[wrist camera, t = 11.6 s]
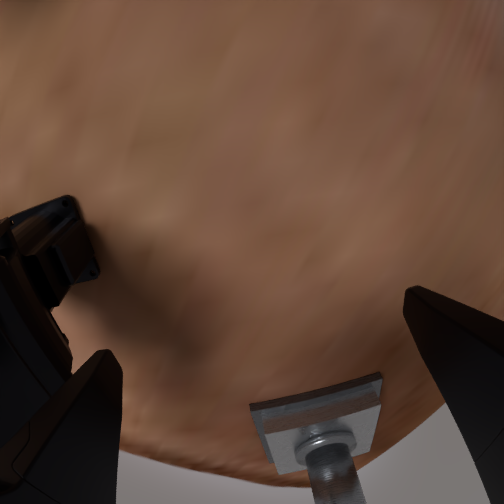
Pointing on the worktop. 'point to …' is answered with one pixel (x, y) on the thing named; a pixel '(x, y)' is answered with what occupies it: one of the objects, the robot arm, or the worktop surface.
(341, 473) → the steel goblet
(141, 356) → the worktop surface
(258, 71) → the worktop surface
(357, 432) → the metal stand
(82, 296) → the worktop surface
